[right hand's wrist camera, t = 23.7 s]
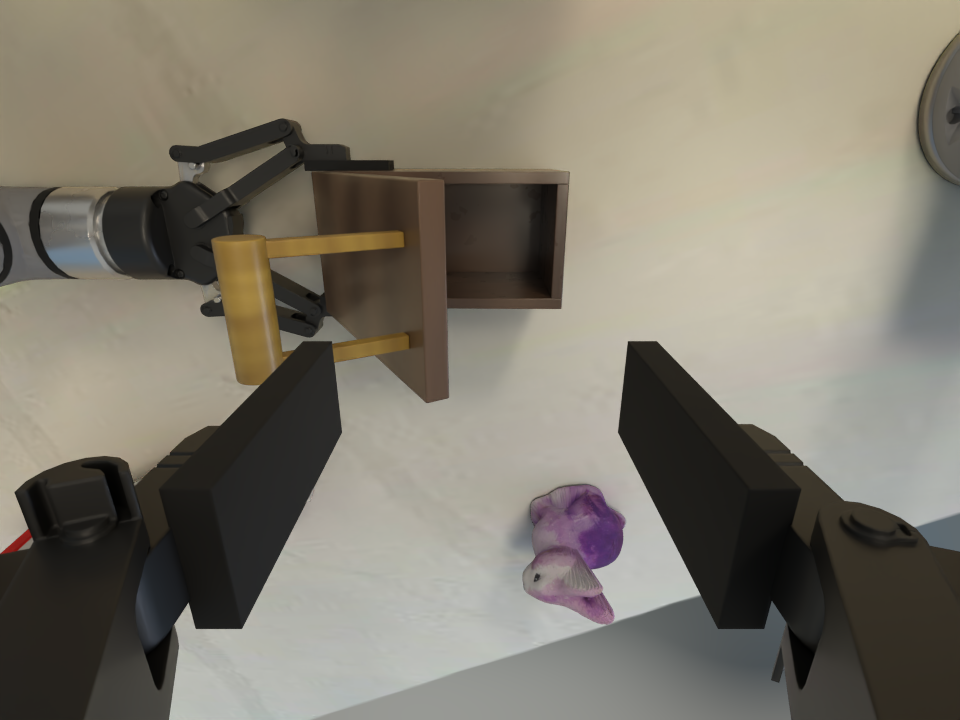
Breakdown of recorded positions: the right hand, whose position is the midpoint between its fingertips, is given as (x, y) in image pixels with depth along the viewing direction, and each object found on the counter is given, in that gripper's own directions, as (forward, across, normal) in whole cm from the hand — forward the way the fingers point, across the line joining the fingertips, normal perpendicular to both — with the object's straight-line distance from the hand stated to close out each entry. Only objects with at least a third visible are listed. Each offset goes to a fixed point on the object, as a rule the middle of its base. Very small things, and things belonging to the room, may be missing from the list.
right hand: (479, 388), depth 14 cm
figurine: (+37, +10, -33) cm, 51 cm away
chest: (+37, -2, 0) cm, 37 cm away
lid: (+18, -6, 0) cm, 19 cm away
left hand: (+31, -7, 0) cm, 32 cm away
